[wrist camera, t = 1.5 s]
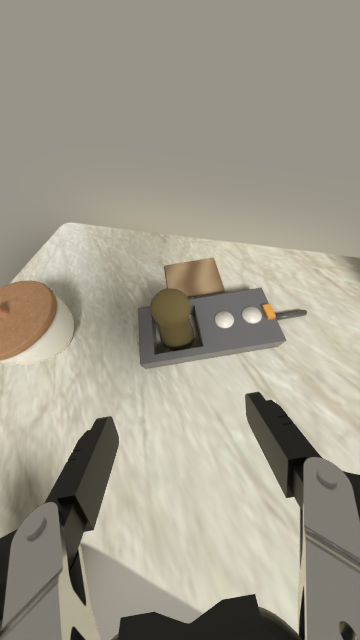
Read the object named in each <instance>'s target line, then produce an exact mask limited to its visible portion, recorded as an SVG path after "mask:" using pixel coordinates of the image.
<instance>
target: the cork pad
mask: <svg viewBox="0 0 360 640" xmlns="http://www.w3.org/2000/svg"><path fill="white" fill-rule="evenodd" d="M165 273H166V280H167V287H168V289H170V288H171V289H177V290H180V291H182V292H183V293H184V294H186V296H187V297H188V298H191V297H196V296H202V295H208V294H214V293H220V292H224V287H223V284H222V281H221V278H220V275H219V272H218V269H217V266H216V263H215V260H214V258H209V259H203V260H198V261H192V262H186V263H180V264H174V265H168V266H165Z"/></svg>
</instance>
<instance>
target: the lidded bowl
mask: <svg viewBox="0 0 360 640" xmlns="http://www.w3.org/2000/svg"><path fill="white" fill-rule="evenodd" d="M73 332H74V319H73V316H72V314H71V312H70V310H69V309H68V307H67V306H66V304H65V303H64V302H63V301H62V300H61V299H60V298H58V297H57V296H56V295H55V294H54V293H53V292H52V291H51V290H50V289H49V288H48V287H47V286H45V285H44V284H42V283H39V282H36V281H19V282H15V283H11V284H9V285H6V286H4V287H2V288H0V363H2V364H9V365H30V364H36V363H40V362H43V361H46V360H48V359H51V358H52V357H54V356H56V355H57V354H59V353H61V352H62V351H63V350H65V349H66V348H67V346H68V345H69V344H70V342H71V340H72V338H73Z"/></svg>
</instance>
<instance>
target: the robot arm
mask: <svg viewBox="0 0 360 640" xmlns="http://www.w3.org/2000/svg"><path fill="white" fill-rule="evenodd" d="M245 399H246V416H247V420H248V423H249V425H250V427H251V429H252V431H253V433H254V435H255V437H256V439H257V441H258V443H259V445H260V447H261V449H262V451H263V453H264V455H265V457H266V459H267V461H268V463H269V465H270V467H271V469H272V471H273V473H274V475H275V477H276V479H277V481H278V483H279V485H280V487H281V489H282V491H283V493H284V495H285V497H286V498H290V497H295V499H296V501H297V503H298V505H299V506H300V534H299V590H298V634H297V633H296V631H294V630H293V629H292V628H291V627H290V626H289V625H288V624H287V623H286V622H285V621H283V620H282V619H281V618H279V617H278V616H277V615H275V614H274V613H272V612H270V611H268V610H266V609H264V608H261V607H258V604H257V600H256V596H255V594H253V595H247V596H241V597H236V598H230V599H224V600H221V601H220V602H219V603H217V604H216V605H215V606H213V607H212V608H211V609H209V610H208V611H207V612H205V613H204V614H203V615H201V616H200V617H199V618H197V619H196V620H195V621H193V622H192V623H189V624H187V623H183V622H180V621H178V620H175V619H172V618H169V617H166V616H164V615H161V614H158V613H156V612H151V613H145V614H139V615H134V616H128V617H122V618H121V620H120V628H119V633H118V634H117V635H116V636H115V637H114V638H113V639H112V640H360V475H357V474H351V473H347V472H344V471H342V470H340V469H339V468H338V467H337V466H336V465H334V464H333V463H331V462H329V461H327V460H325V459H323V458H322V457H321V456H320V455H319V454H318V453H317V451H316V450H315V449H314V448H313V446H312V445H311V444H310V443H309V441H308V440H307V439H306V438H305V436H304V435H303V434H302V433H301V431H300V430H299V429H298V428H297V426H296V425H295V424H294V423H293V421H292V420H291V419H290V418H289V417H288V416H287V414H286V413H285V411H284V410H283V409H282V408H281V406H279V405H278V404H276V403H275V402H273V401H272V400H268V401H266V400H265V399H264V397H263V396H262V395H261V393H260V392H254V393H248V394H246V395H245ZM118 445H119V436H118V433H117V430H116V427H115V424H114V422H113V419H112V417H111V416H109V417H103V418H98V419H96V420H95V422H94V424H93V426H92V428H91V430H87V431H86V432H85V433H84V435H83V436H82V437H81V438H80V439H79V440H78V442H77V444H76V446H75V448H74V450H73V453H71V455H70V457H69V459H68V462H67V463H66V464H65V466H64V468H63V470H62V472H61V474H60V476H59V477H58V479H57V481H56V483H55V485H54V487H53V489H52V490H51V492H50V494H49V496H48V498H47V500H46V501H45V503H44V504H43V505H41V506H39V507H38V508H36V509H35V510H34V511H33V512H32V513H31V514H30V515H29V516H28V517H27V518H26V519H25V520H24V521H23V523H22V524H21V525H20V527H19V528H18V529H17V530H15V531H13V532H11V533H10V534H8V535H6V536H4V537H2V538H0V640H100V636H99V632H98V628H97V625H96V622H95V619H94V616H93V613H92V609H91V604H90V598H89V592H88V586H87V580H86V574H85V569H84V562H83V556H82V550H81V546H80V542H81V539H82V536H83V533H84V532H85V531H91V530H94V527H95V524H96V520H97V517H98V514H99V510H100V507H101V503H102V500H103V497H104V493H105V490H106V486H107V483H108V480H109V476H110V473H111V470H112V466H113V463H114V459H115V456H116V453H117V449H118Z"/></svg>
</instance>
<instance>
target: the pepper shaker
mask: <svg viewBox="0 0 360 640" xmlns="http://www.w3.org/2000/svg"><path fill="white" fill-rule="evenodd" d="M190 311H191V305H190V301H189V299H188V297H187V296H186V294H184V293H183V292H182V291H180V290H177V289H171V288H170V289H164V290H162V291H160V292H159V293H157V294H156V295H155V297H154V298H153V300H152V302H151V314H152V316H153V318H154V320H155V321H156V322H157V323H158V324H159V329H160V336H161V341H162V343H163V345H164V346H165V347H166V348H167V349H169V350H171V351H179V350H185V349H187V348H188V347H189V346H190V345H191V344H192V342H193V340H194V331H193V328H192V325H191V322H190V319H189V315H190Z"/></svg>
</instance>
